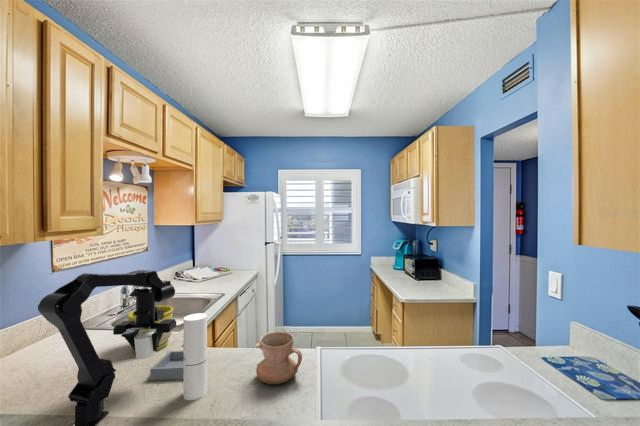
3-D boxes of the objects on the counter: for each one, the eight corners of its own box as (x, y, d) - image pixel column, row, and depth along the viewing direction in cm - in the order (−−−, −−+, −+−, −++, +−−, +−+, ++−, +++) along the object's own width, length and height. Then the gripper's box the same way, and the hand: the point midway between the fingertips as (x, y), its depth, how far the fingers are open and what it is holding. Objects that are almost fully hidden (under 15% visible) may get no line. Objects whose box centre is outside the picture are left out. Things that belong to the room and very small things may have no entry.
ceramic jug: (245, 384, 95) (245, 343, 96) (265, 363, 109) (265, 327, 109) (293, 394, 90) (293, 351, 90) (308, 371, 104) (308, 333, 104)
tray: (190, 378, 100) (190, 367, 100) (150, 380, 99) (150, 369, 99) (204, 359, 114) (204, 349, 114) (169, 361, 113) (169, 351, 113)
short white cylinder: (146, 360, 92) (145, 339, 92) (129, 358, 94) (128, 338, 94) (161, 350, 99) (161, 331, 99) (145, 349, 100) (145, 330, 100)
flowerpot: (178, 347, 126) (178, 310, 127) (131, 361, 113) (131, 320, 114) (166, 335, 139) (166, 303, 139) (123, 347, 126) (123, 311, 127)
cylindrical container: (200, 384, 96) (200, 312, 97) (211, 392, 91) (211, 316, 92) (179, 394, 90) (179, 317, 91) (189, 403, 86) (189, 322, 87)
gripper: (183, 298, 105) (183, 340, 105) (132, 300, 104) (133, 342, 104) (168, 308, 94) (168, 354, 94) (111, 310, 93) (112, 356, 93)
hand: (145, 351), depth 96 cm, fingers closed on short white cylinder, 6 cm apart
